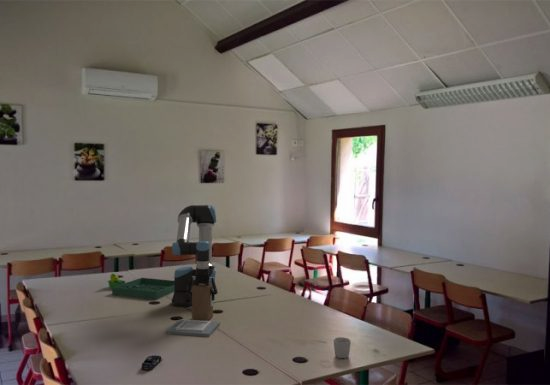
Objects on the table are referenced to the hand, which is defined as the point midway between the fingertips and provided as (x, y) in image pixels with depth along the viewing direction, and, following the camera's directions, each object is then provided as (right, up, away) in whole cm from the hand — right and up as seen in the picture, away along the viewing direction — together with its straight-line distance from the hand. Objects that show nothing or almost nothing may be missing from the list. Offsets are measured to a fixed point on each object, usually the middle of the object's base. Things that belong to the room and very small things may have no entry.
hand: (202, 305), depth 289 cm
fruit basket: (-73, -4, +70) cm, 102 cm away
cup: (+74, -12, -55) cm, 92 cm away
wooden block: (0, -8, 0) cm, 8 cm away
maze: (-47, -5, +62) cm, 78 cm away
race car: (-13, -12, -67) cm, 69 cm away
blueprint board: (-2, -9, -19) cm, 21 cm away
